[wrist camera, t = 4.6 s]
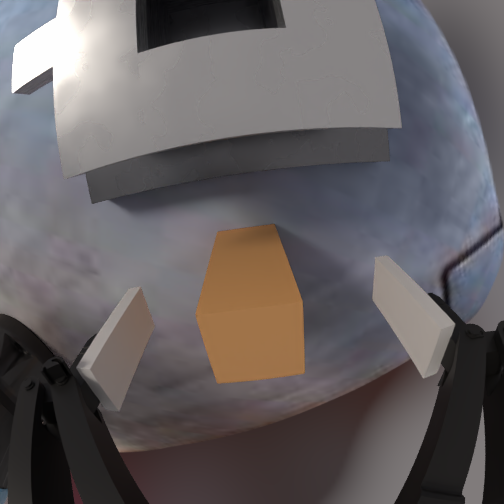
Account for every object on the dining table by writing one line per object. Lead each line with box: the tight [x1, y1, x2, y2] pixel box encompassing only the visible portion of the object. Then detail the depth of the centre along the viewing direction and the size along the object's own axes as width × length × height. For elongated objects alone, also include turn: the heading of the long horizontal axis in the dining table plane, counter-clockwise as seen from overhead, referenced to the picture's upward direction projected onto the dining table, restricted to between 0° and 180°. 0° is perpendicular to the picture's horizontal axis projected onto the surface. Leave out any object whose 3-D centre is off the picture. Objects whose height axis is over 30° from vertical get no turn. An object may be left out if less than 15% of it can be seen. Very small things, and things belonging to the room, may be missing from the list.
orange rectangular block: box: [195, 224, 305, 383], centre depth 15 cm, size 4×4×10 cm
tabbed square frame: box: [12, 0, 402, 204], centre depth 10 cm, size 18×20×8 cm
